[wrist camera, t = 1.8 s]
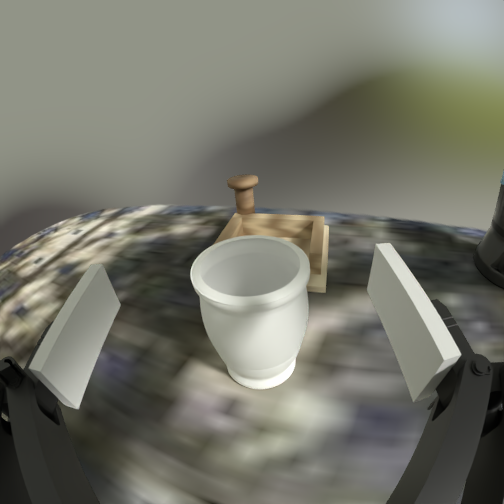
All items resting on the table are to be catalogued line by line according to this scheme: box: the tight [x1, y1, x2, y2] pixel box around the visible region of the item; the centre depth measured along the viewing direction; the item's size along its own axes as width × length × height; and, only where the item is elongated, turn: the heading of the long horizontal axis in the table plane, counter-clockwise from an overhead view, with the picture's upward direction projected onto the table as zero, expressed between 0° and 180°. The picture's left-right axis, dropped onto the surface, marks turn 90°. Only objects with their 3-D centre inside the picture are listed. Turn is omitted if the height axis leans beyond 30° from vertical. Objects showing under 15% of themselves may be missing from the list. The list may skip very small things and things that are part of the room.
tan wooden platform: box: [213, 175, 329, 293], centre depth 49 cm, size 22×20×12 cm
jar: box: [190, 235, 310, 389], centre depth 28 cm, size 11×10×15 cm
